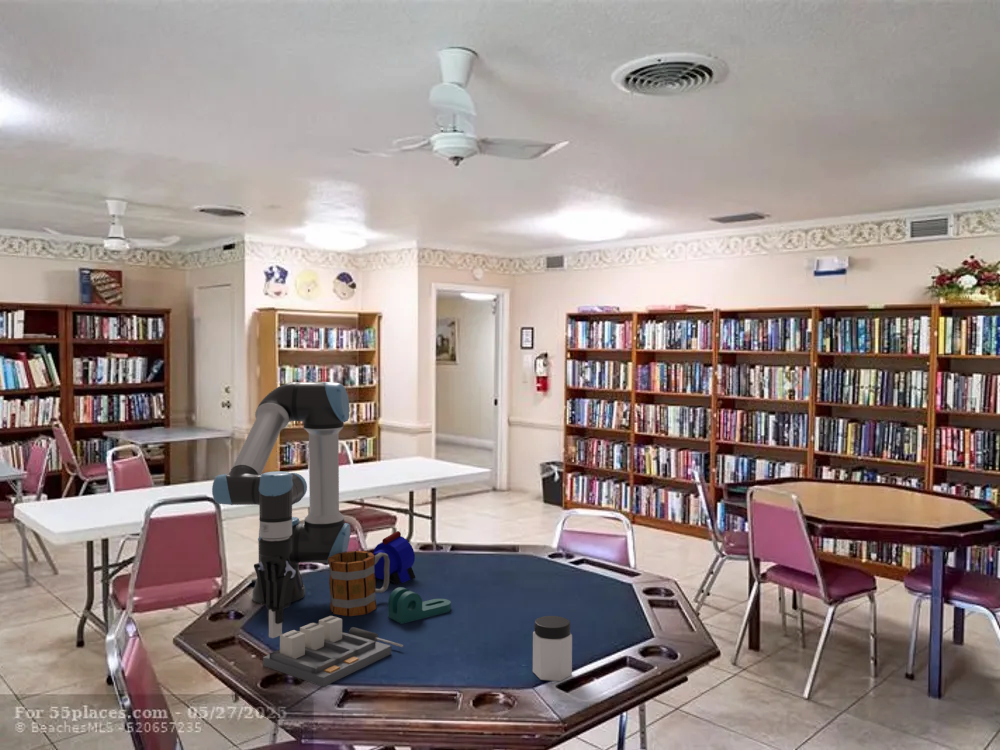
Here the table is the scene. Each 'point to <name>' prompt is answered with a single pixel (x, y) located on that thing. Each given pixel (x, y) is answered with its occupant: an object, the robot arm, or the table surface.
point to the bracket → (414, 606)
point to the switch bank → (329, 659)
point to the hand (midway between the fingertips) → (275, 635)
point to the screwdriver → (370, 636)
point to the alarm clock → (395, 558)
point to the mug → (355, 582)
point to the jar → (552, 648)
